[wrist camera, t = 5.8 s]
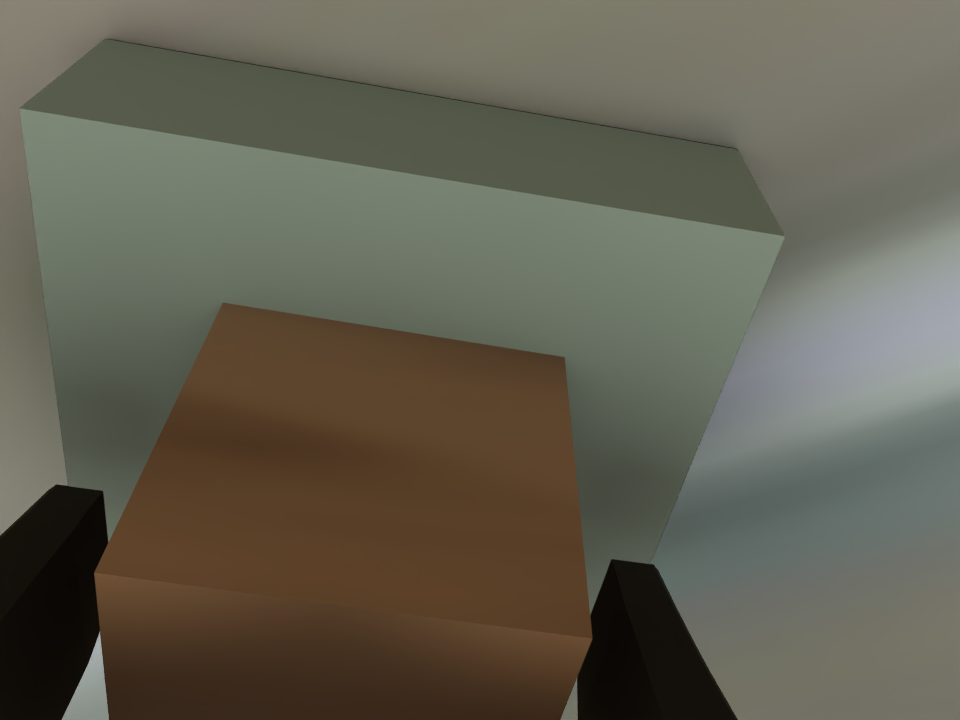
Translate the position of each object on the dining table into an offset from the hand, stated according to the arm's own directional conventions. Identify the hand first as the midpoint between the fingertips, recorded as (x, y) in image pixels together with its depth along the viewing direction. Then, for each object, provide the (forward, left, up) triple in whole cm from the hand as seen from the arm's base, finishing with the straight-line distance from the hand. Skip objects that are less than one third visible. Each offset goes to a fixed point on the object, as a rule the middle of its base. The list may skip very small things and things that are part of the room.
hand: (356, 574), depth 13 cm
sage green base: (0, 0, -5) cm, 5 cm away
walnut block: (0, 0, -2) cm, 2 cm away
